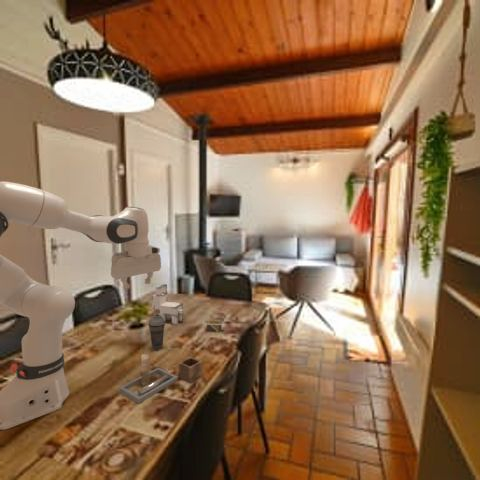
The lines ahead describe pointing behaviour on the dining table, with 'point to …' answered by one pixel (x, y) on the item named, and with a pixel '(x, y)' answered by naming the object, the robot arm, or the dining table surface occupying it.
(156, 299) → the toy llama
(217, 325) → the platform
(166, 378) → the metal rod
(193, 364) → the pen pot
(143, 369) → the dowel
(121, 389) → the tray
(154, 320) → the beverage cup
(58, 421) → the dining table surface
